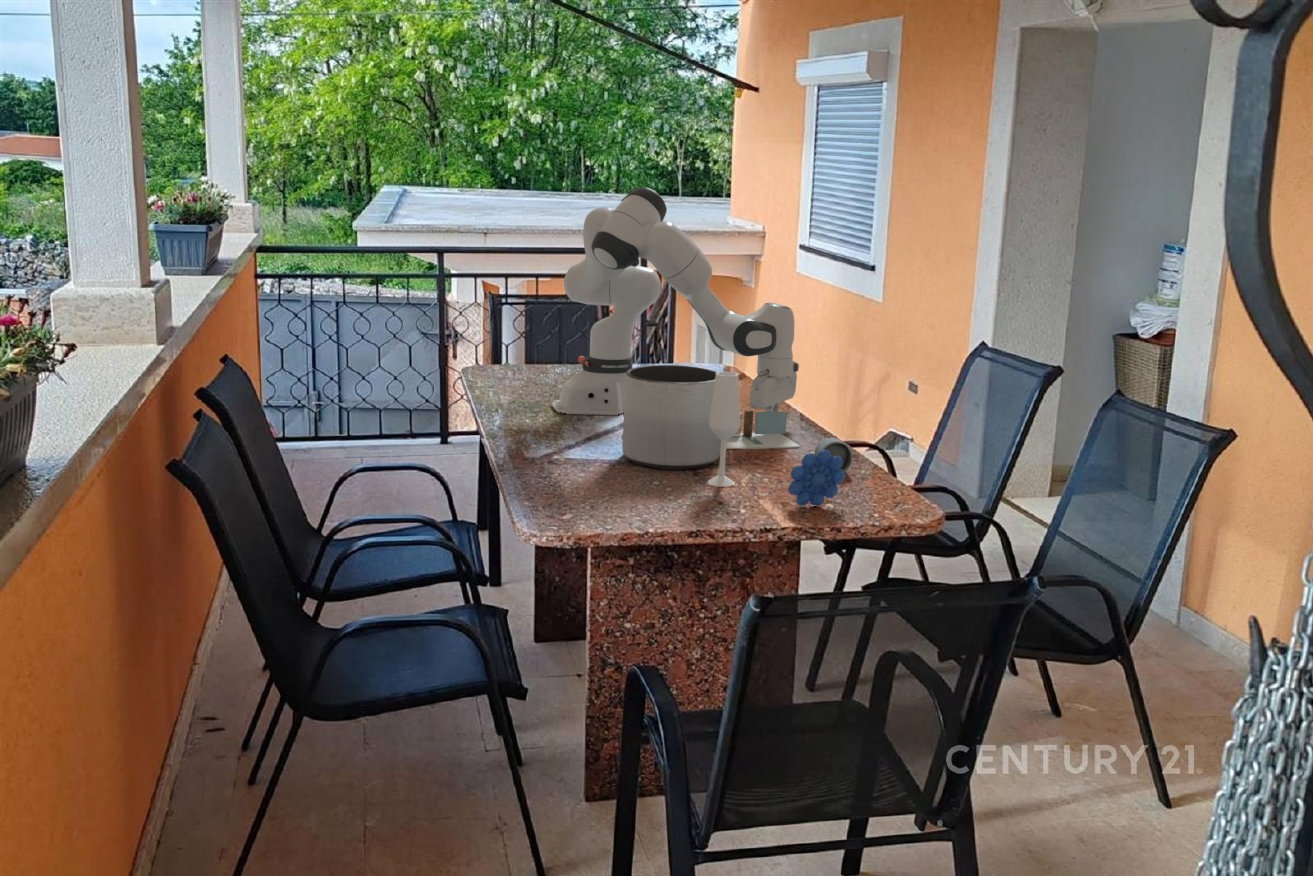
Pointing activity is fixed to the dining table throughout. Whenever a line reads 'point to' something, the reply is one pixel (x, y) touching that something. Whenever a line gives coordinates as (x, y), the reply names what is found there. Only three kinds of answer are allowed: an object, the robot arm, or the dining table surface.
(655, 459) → the planter
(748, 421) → the pine fence section
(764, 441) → the card
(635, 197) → the robot arm
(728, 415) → the champagne flute
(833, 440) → the ceramic mug
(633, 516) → the dining table surface
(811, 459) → the grapes
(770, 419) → the light blue rectangular panel
